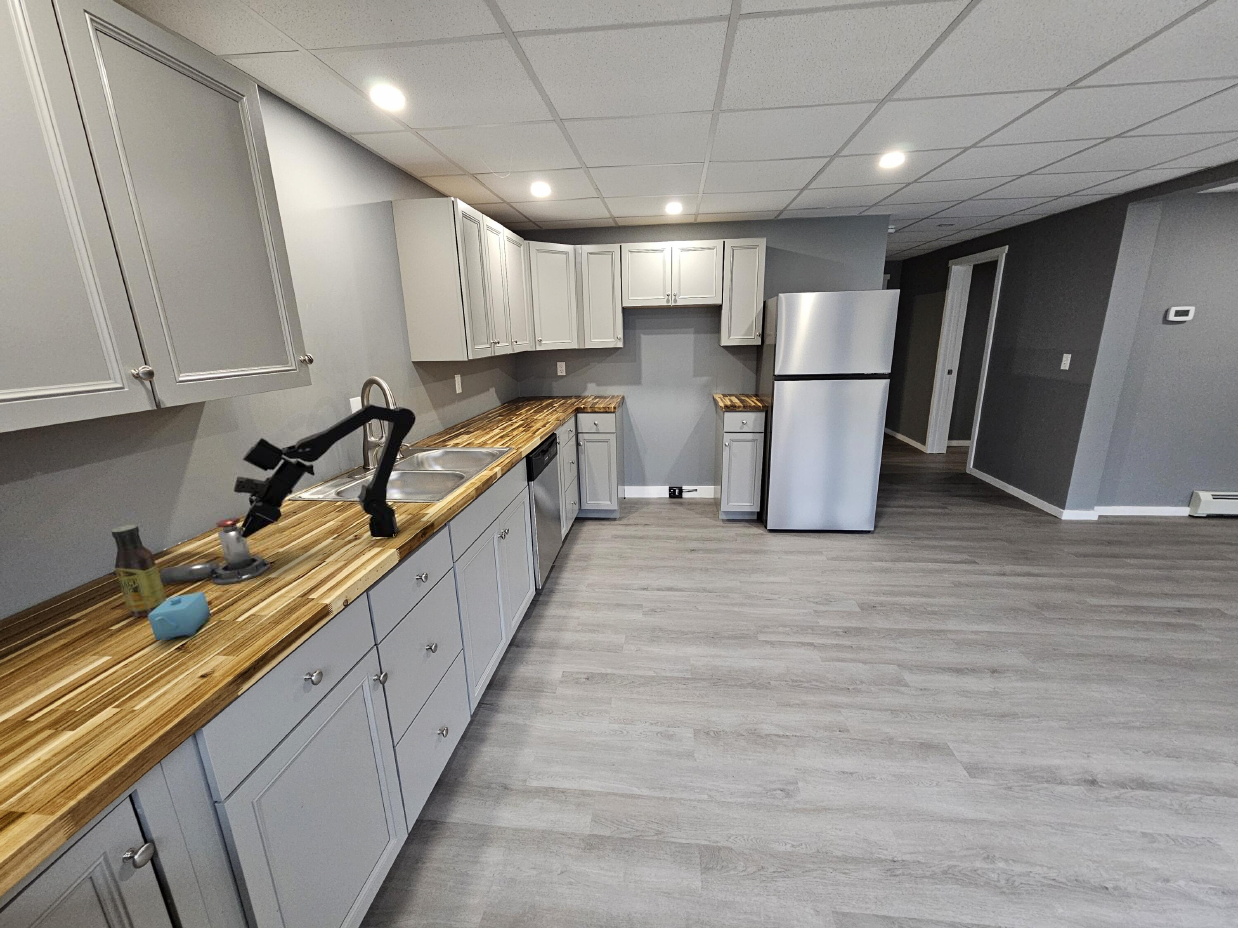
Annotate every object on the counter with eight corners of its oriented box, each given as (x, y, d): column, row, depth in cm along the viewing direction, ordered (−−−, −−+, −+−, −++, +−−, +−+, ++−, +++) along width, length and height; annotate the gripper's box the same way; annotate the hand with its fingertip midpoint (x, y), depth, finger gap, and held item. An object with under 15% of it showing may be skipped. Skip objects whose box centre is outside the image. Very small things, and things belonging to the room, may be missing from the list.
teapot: (184, 647, 93) (173, 612, 91) (146, 654, 92) (134, 619, 90) (215, 615, 104) (206, 583, 103) (182, 621, 103) (171, 589, 101)
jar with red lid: (253, 564, 127) (240, 515, 124) (254, 570, 123) (240, 520, 120) (230, 570, 125) (215, 521, 121) (229, 576, 121) (214, 526, 117)
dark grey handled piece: (279, 560, 131) (275, 546, 130) (256, 580, 119) (252, 565, 118) (183, 572, 127) (179, 558, 126) (150, 594, 115) (145, 579, 114)
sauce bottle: (123, 616, 106) (93, 532, 101) (157, 602, 112) (130, 521, 107) (143, 620, 104) (113, 534, 99) (176, 604, 110) (149, 523, 105)
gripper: (250, 458, 129) (210, 508, 125) (251, 470, 114) (205, 527, 111) (293, 479, 135) (255, 527, 132) (298, 493, 121) (256, 548, 117)
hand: (243, 532), depth 123 cm, fingers open, 9 cm apart
